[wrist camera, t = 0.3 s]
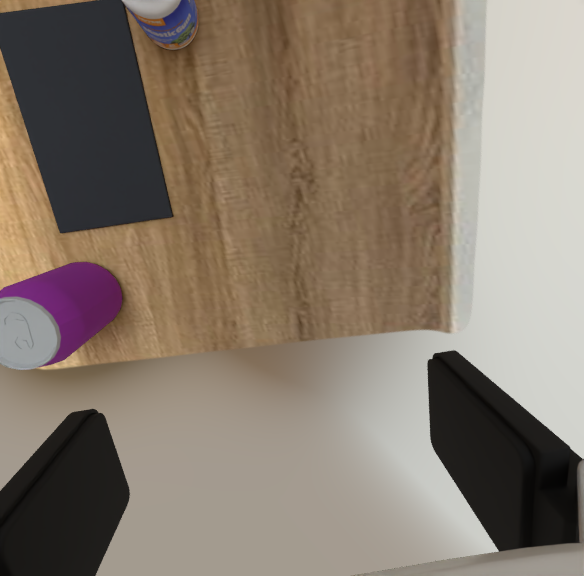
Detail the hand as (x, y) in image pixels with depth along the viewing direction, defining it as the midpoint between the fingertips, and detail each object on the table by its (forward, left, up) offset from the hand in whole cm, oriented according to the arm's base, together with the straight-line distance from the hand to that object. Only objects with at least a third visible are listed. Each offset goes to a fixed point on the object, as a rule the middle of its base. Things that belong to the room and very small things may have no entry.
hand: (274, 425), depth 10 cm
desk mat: (-15, -16, -31) cm, 38 cm away
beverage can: (+2, -21, -31) cm, 37 cm away
